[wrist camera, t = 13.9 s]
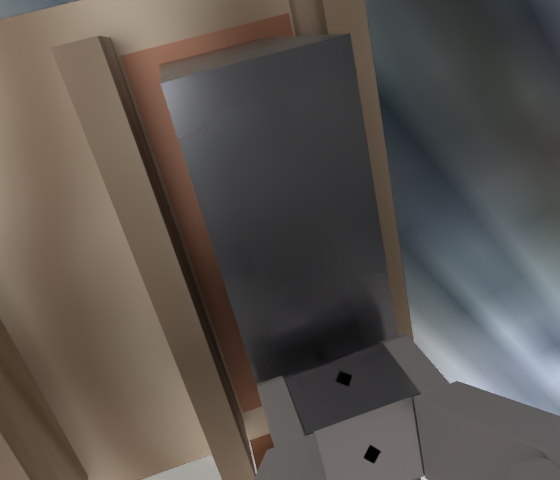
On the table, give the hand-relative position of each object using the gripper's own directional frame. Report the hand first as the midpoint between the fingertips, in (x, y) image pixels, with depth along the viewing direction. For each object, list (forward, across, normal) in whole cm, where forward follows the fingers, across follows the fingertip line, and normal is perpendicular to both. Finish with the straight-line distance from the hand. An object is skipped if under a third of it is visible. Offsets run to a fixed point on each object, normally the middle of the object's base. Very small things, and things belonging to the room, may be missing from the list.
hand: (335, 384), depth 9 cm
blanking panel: (+7, 0, 0) cm, 7 cm away
